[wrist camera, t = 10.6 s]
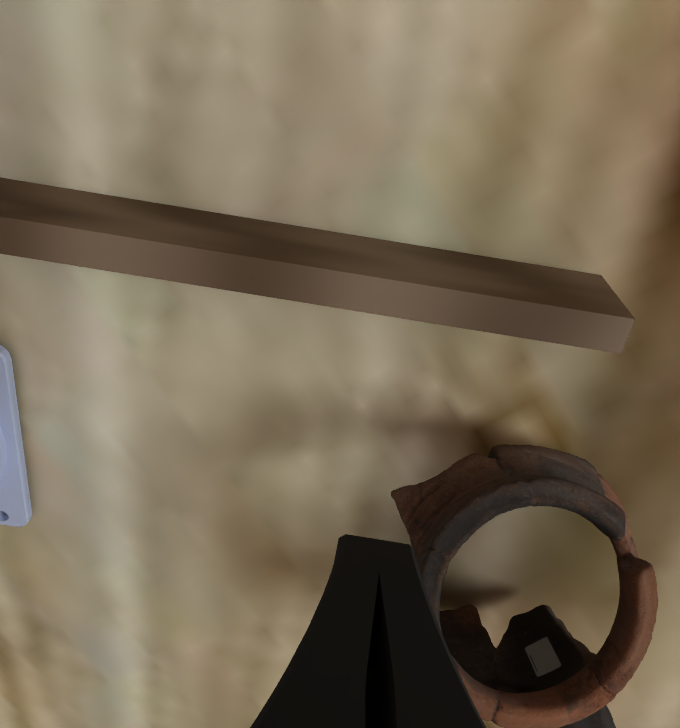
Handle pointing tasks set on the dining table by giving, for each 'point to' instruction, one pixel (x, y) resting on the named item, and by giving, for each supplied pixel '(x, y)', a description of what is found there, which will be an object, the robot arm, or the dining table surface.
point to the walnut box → (311, 266)
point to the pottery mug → (539, 626)
